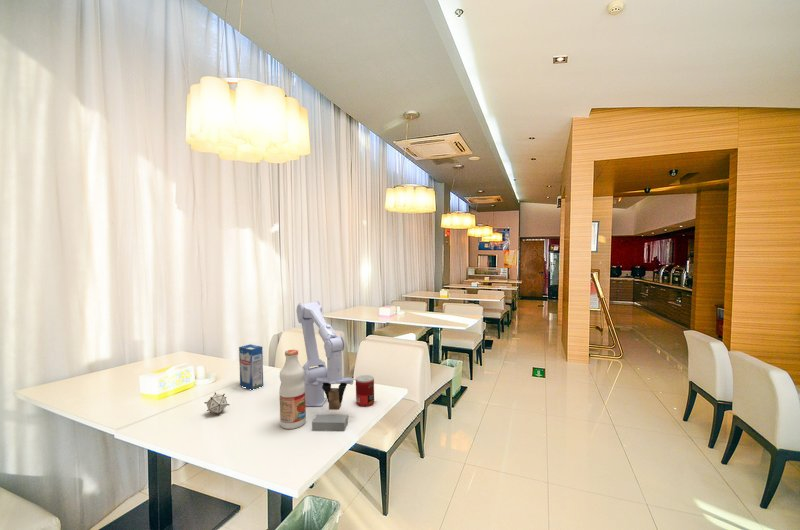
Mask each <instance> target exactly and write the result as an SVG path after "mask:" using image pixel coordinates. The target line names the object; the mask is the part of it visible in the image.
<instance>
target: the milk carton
mask: <svg viewBox="0 0 800 530" xmlns="http://www.w3.org/2000/svg"><path fill="white" fill-rule="evenodd" d="M238 348H239V349H238V351H239V352H238V353H239V354H238V355H239V386H240V385H241V386H243V387H246V388H249V389H251V390H253V389H256V388H258V389H260V388H259V387H261V388H263V387H264V365H263V364H264V360H263V359H264V356H263V352H264V351H263V346H260V345H256V344H247V345H246V344H245V345H243V346H239V347H238ZM262 386H263V387H262ZM251 390H250V391H251ZM256 390H257V389H256ZM253 391H254V390H253Z"/></svg>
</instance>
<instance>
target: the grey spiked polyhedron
mask: <svg viewBox="0 0 800 530" xmlns="http://www.w3.org/2000/svg"><path fill="white" fill-rule="evenodd" d="M225 395H226V394H225V393H223V394H219V393H216V392H214V394H213V395H212V396H211V397H210V399H208V400H207V402H206V401H205V402H204V404H205V405H206V406H207V410H206V412H208V411H209V413H211V414H212V413H213V414H217V415H218V416H221V414H220V413H222V411H224V409H225V408H227V407H228V406H230V405H231V404H230V403H228V401H227V396H225Z"/></svg>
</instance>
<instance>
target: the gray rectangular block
mask: <svg viewBox="0 0 800 530" xmlns="http://www.w3.org/2000/svg"><path fill="white" fill-rule="evenodd" d="M348 418H349V417H348V414H316V416H315V417H314V419H313V420H312V422H311V429H312V430H311V431H322V430H327V431H329V432H330V431H337V432H338V431H339V432H340V431H341V432H343V431H345V430H346V429H347V426H348V423H349V421H348V420H349V419H348Z"/></svg>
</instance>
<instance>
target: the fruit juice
mask: <svg viewBox="0 0 800 530" xmlns="http://www.w3.org/2000/svg"><path fill="white" fill-rule="evenodd" d="M298 356H299V350H298V349H287V350H285V351H284V357H285V362H284V365H283V367H282V368H281V370H280V372H279V380H280V385H279V419H280V420H279V424H280V426H281V428H283V429H285V430H292V429H297V428H300V427H302V426H303V425H305V423H306V419H307V417H306V416H307V415H306V414H307V413H306V412H307V411H306V408H307V406H306V404H305V384H304V381H303V379H304V369H303V368H302V367H303V365H301V364H300V362H299V357H298Z"/></svg>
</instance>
